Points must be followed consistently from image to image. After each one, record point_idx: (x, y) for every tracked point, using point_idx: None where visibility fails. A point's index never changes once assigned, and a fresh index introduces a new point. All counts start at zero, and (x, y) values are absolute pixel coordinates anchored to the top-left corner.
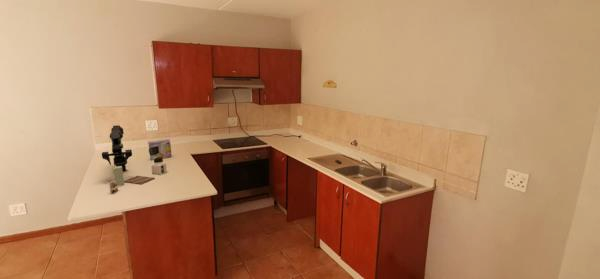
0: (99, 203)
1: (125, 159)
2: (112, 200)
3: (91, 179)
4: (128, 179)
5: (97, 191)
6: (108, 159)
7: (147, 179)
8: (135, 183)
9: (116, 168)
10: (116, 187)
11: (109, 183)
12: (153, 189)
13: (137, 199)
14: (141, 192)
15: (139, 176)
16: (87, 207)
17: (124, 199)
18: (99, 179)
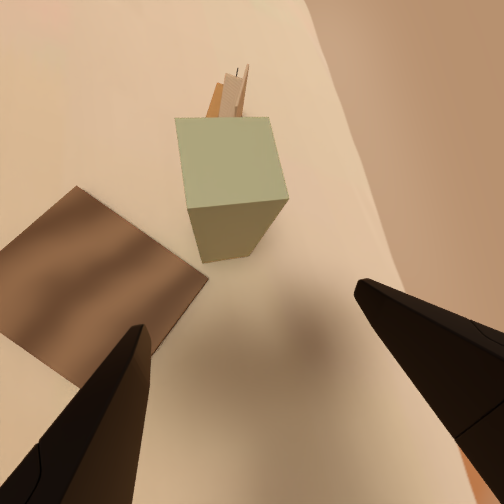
0: (254, 36)
1: (97, 393)
2: (210, 41)
3: (434, 414)
4: (177, 312)
5: (310, 171)
6: (495, 337)
7: (22, 265)
8: (121, 217)
9: (235, 119)
10: (212, 101)
11: (247, 66)
12: (7, 81)
13: (101, 3)
14: (82, 69)
15: (90, 376)
16: (284, 24)
17: (161, 28)
18: (384, 400)
